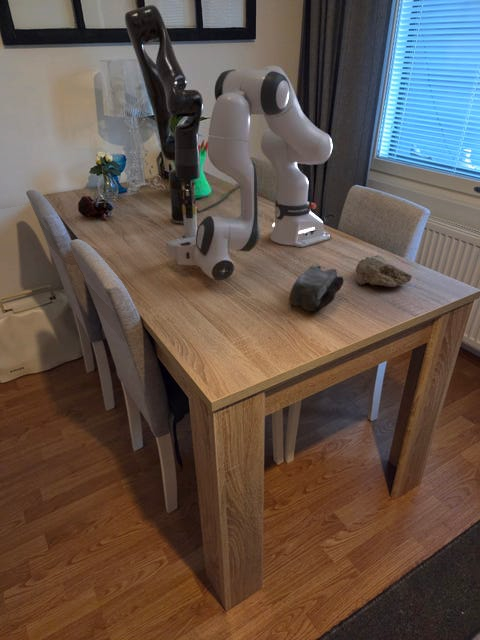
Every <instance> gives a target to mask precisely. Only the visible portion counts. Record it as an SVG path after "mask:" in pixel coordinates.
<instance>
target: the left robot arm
mask: <svg viewBox="0 0 480 640" xmlns="http://www.w3.org/2000/svg"><path fill="white" fill-rule="evenodd" d="M124 23H125V27H126V31H127V34H128V36H129V39H130V42H131V44H132V48H133V50H134V53H135V56H136V59H137V62H138V65H139V68H140V71H141V75H142V79H143V82H144V83H143V84H144V87H145V91H146V95H147V98H148V100H149V103H150V107H151V111H152V113H153V117H154V120H155V124H156V128H157V132H158V137H159V138H158V139H159V142H160V148H161V151H162V155H163V157H164V158H165V160H167V161H172V162H173V161H175V163H176V169H175V168H174V169H170V171H169V172H168V182H169V189H170V193H169V195H170V196H169V197H170V206H171V207H170V208H171V209H170V210H171V212H170V214H171V215H170V216H171V222H172V223H174V224H177V225H184V219H183V211H182V205H183V204H184V206H185V207H186V218H193V204H196V199H195V197H194V195H195V183H193V182H194V180H193V179H198V178H199V177H200V156H199V148H198V145H199V129H200V123H201V118H202V115H203V110H204V99H203V96H202V94H201V93H200V91H199V90H197V89H186V88H187V85H188V82H187V77H186V75H185V74H184V71H183V70H182V67H181V66H180V64H179V62H178V58H177V57H176V53H175V51H174V48H173V44H172V41H171V38H170V36H169V33H168V30H167V27H166V25H165V22H164V20H163V16H162V13H161V12H160V10H159V9H158V7H157V6H156V5H153V4H150V5H145V6H142V7H138V8H136V9H132V10H129V11H127V12H126V13H125V14H124ZM157 41H159V46H158V51H157V54H156V59H155V61H154V60H152V58H151V57H150V55H148V53H147V51H146V49H145V45H147V44H151V43H154V42H157ZM173 117H175V118H185V117H187V119H186V121H185V122H184V123H182V124H179V125H177V126H176V127H175V128H174V134H173V132H172V129H171V120H172V118H173ZM238 189H240V187H239V185H238V186H237V187H235V188H233V189H232V190H231V191H229V193H227V194H226V196H224V197H223V198H222V199H220V200H219V201H217V202H216V203H213V204H211V205H209V206H207V207H205V208H203V209H202V210H201V209H200V210H199V208H198V207H197V214H198V213H202V212H204V211H206V210H209V209H210V208H211V209H212V208H213V207H215V206H217V205H219V204H220V203H221V202H223V201H224V200H226V199H227V198H228V197H229V196H230V195H231V194H232V193H233V192H235V191H237V190H238Z"/></svg>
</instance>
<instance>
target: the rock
mask: <svg viewBox="0 0 480 640" xmlns="http://www.w3.org/2000/svg"><path fill="white" fill-rule="evenodd" d="M344 280H345V279H344V277H342V276H338V271H337V270H336V268H335V269H334V268H331V269H328V270H322V266H321V265H318V266H317V265H316V266H314V265H311V266H310V267H308V268H307V269H306V270H305V271H303V272H302V274H301V275H299V277H298V278H297V279H296V281H295V282H294V283H293V285H292V288H291V290H290V294H289V297H288V302H289V303H290V304H291V305H293V306H295V307H296V306H299V305H300V306H301V308H303V309H304V310H305V311H307V312H312V311H314V312H315V313H318V312H320V311H321V310H322V309H324V308H325V307H327V306H328V305H329V304H331V303H332V302H333V301H334V299H335V298H336V294H337V293H338V292H339V291H340V290H341V288H342V286H343V285H344Z"/></svg>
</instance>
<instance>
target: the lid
mask: <svg viewBox="0 0 480 640" xmlns="http://www.w3.org/2000/svg"><path fill="white" fill-rule="evenodd" d="M197 208H198V205H197V204H196V203H195V204H193V214H195V213H196V214H198V212H197ZM182 211H183V213H184V214H186V207H185V206H184V204H183V205H182Z"/></svg>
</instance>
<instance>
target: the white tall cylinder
mask: <svg viewBox="0 0 480 640" xmlns="http://www.w3.org/2000/svg"><path fill="white" fill-rule="evenodd" d="M197 214H198V213H195V214H193V218H186V214H184V213H183V219H184V224H183V236H185V237H186V238H190V237H196V234H197V229H198V219H197V218H198V217H197Z"/></svg>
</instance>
